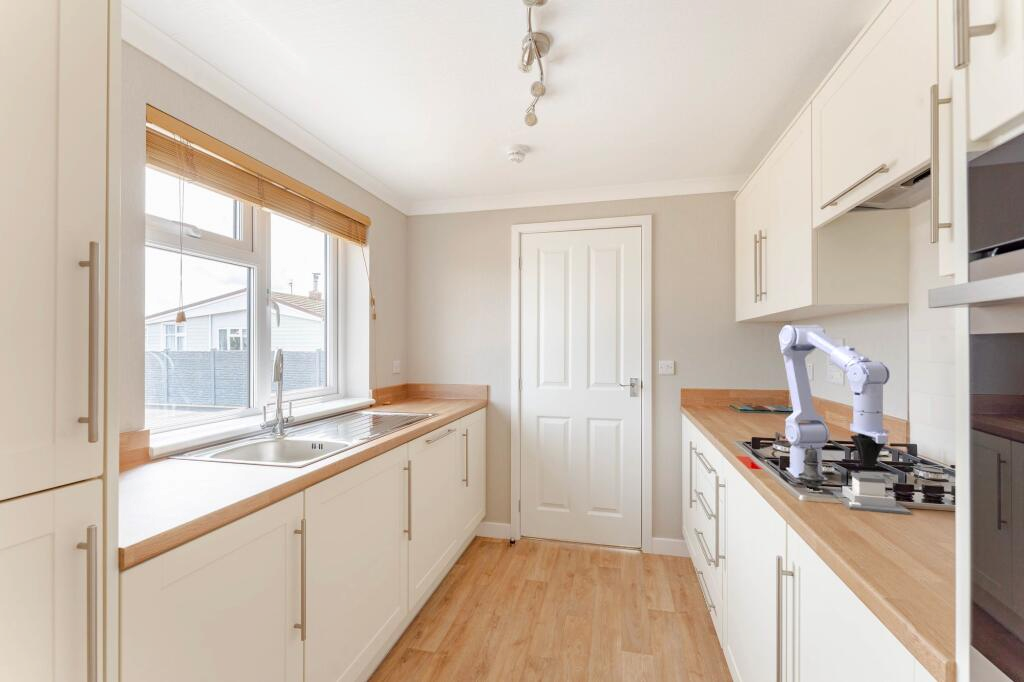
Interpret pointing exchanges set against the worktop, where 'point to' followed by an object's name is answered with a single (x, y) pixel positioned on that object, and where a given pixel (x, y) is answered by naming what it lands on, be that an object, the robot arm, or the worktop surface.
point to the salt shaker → (811, 470)
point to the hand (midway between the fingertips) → (867, 466)
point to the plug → (868, 484)
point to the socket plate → (870, 502)
